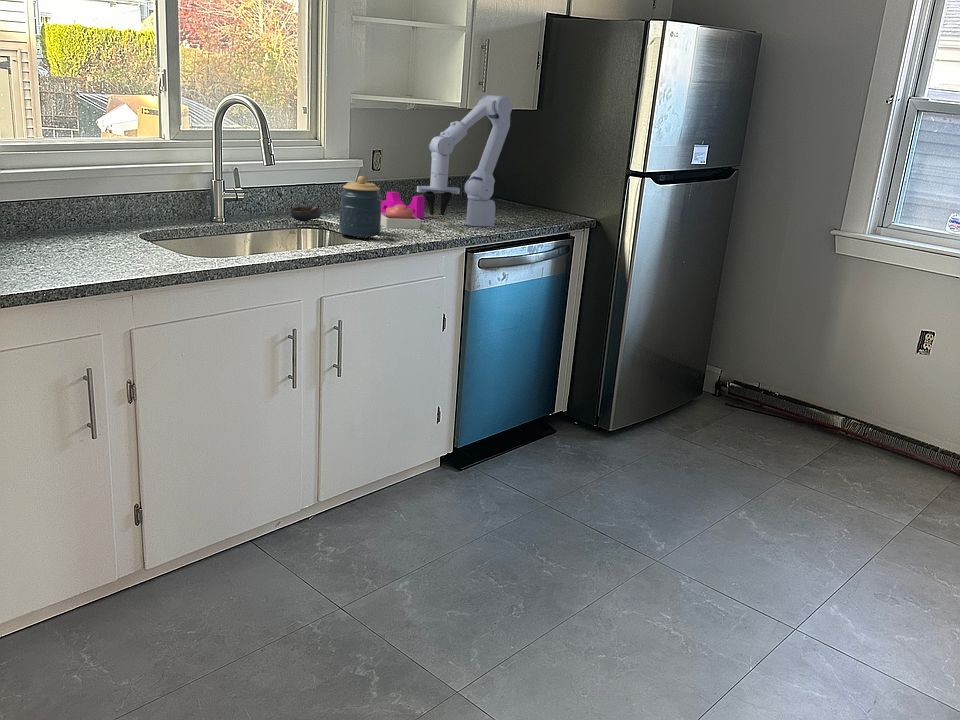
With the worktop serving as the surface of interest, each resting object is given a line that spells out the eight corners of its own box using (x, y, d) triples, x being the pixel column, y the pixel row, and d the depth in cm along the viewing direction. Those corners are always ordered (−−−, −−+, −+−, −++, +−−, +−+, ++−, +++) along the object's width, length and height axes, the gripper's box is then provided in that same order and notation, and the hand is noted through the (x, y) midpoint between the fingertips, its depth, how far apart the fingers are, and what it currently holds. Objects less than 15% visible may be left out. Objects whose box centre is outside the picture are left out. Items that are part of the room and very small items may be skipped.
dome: (408, 220, 300) (409, 203, 299) (415, 224, 292) (416, 206, 291) (382, 220, 297) (383, 202, 296) (389, 224, 289) (390, 206, 288)
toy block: (381, 213, 315) (381, 192, 313) (393, 212, 320) (393, 191, 318) (411, 218, 307) (412, 197, 304) (423, 217, 311) (424, 196, 309)
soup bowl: (329, 222, 307) (330, 201, 305) (326, 230, 292) (326, 207, 290) (286, 220, 306) (286, 198, 304) (280, 227, 291) (280, 204, 288)
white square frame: (410, 223, 302) (411, 214, 302) (420, 228, 292) (420, 219, 291) (377, 222, 298) (378, 213, 297) (386, 227, 288) (386, 218, 287)
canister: (345, 237, 265) (347, 177, 260) (333, 230, 276) (335, 172, 271) (386, 237, 270) (389, 179, 265) (373, 230, 281) (375, 174, 276)
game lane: (433, 217, 321) (433, 214, 321) (463, 232, 291) (464, 230, 291) (398, 216, 317) (398, 213, 317) (426, 231, 287) (426, 229, 286)
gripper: (456, 173, 299) (453, 213, 303) (415, 171, 294) (412, 212, 298) (462, 175, 293) (460, 216, 296) (421, 173, 287) (418, 215, 291)
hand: (436, 214), depth 297 cm, fingers open, 3 cm apart
